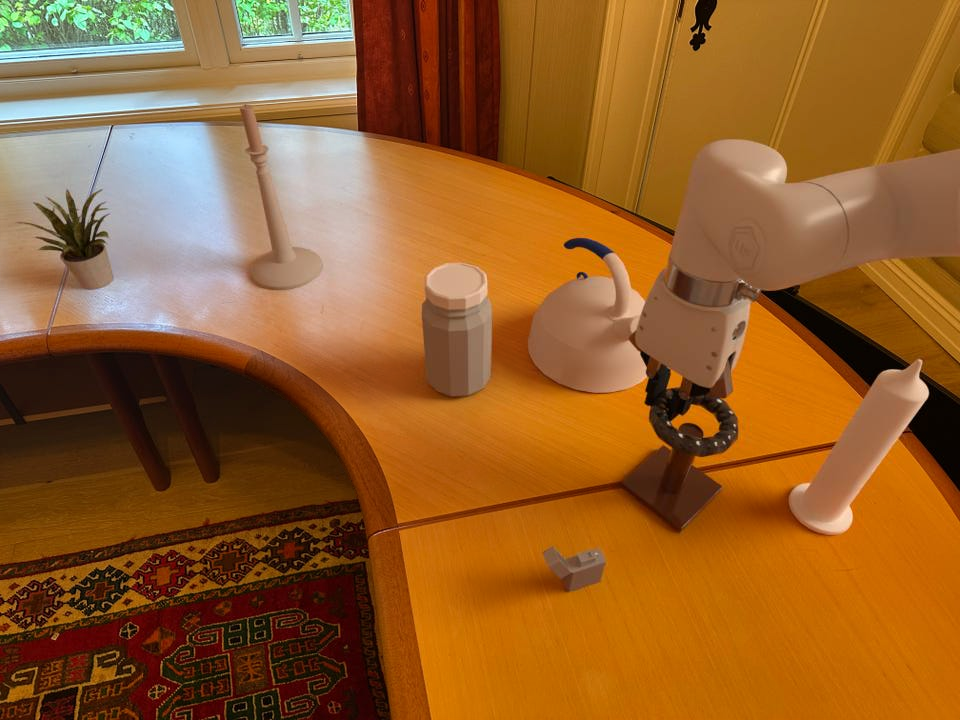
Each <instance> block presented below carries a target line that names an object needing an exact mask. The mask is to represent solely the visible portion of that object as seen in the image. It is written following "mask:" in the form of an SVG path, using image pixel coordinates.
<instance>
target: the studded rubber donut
mask: <svg viewBox="0 0 960 720" xmlns="http://www.w3.org/2000/svg"><path fill="white" fill-rule="evenodd" d="M679 388H680V386H677V387H669V388H667V389H666V390H664V391H663V392H662V393H661V394H659V395H658V396H657V397H656V398H654V399H653V400H652V402H651V406H649V407H650V408H649V413H648V421H649V424H650V425H651V428H652V429H653V431H654V433H655V435H656V436H657V438H658V439H659V440H660V441H661V442H663V443H665V444H666V445H667V446H669V447H670V448H671V449H672V448H673V449H675V450H676V451H678V452H681V453H685V454H689V455H693V456H696V457H697V458H698V457H699V458H706V457H711V456H716V455H717V456H718V455H722V454H724V453H725V452H726V451H728V450H729V449H730V448H731V446H733V445H734V444H735V443H736V442H737V440H738V439H739V418H738V416H737V415H736V414H735V412H734V410H733V409H732V407H731V406H730V405H729V403H728V402H727V400H725V399H722V398H718V397H713V396H710V395H708V394H706V395H704V396H696V397H694V398H693V400H692V403H691V406H692V405H693V406H696V407H700V408H702V409H704V410H706V411H707V412H708V413H710V414H712V415H713V417H714V418H715V420H716V421H717V423H718V431H716V433H715V434H713V435H711V436H706V437H704V436H703V438H698V437H694V436H690V435H685V434H684V433H682V432H681V431H679V430H678V428H676V427H675V426H674V425H673V424H672V421H670V420H669V419H668V408H669V405H670V402H671V399H672V396H673V394H674V393H676V392H677V391H678V390H679Z"/></svg>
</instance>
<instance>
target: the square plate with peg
mask: <svg viewBox="0 0 960 720" xmlns="http://www.w3.org/2000/svg"><path fill="white" fill-rule="evenodd" d="M677 429H678V430H679V431H681V432H682V433H684V434H685V435H690V436H694V437H698V438H704V436H705V433H704V430H703V429H702V427H700V426H699V425H698V424H695V423H693V422H684V423H682V424H680V425H679V426H678V428H677ZM696 457H697V456H693V455H689V454H685V453H681V452H678V451H676V450H675V449H673V448H672V447H671V449H670V448H669V447H667V446H666V445H665V444H663V445H661V446H660V447H659V448H658V449H657V450H656V451H654V452H653V453H652V454H651V455H650V456H648V457H647V458H646V459H645V460H644V461H643V462H641V464H640V465H638V466H637V467H636V468H635V469H634V470H633V471H631V472H630V473H629V474H628V475H627V476H626V477H624V479H622V480H621V482H620V484H619V487H620V488H621V489H622V490H623V491H625V492H627V494H629V495H630V496H631V497H633V498H634V499H635V500H637V502H639V503H641V504H642V505H643V506H644V507H646V509H648V510H650V511H651V512H652V513H653V514H655V515H656V516H657V517H658V518H659V519H661V520H662V521H664V522H665V523H666V524H667V525H668V526H670V527H671V528H672V529H674V530H675V531H677V532H678V533H679V534H680V533H681V532H683V530H684V529H686V528H687V526H688V525H689V524H691V522H692V521H694V519H695V518H697V517H698V515H699V514H700V513H702V511H703V510H704V509H705V508H706V507H707V506H709V504H710V503H711V502H712V501H713V500H714V499H715V498H716V497H717V496H718V495H719V494H720V493H721V492H722V491H723V488H724V486H723V485H722V484H720V483H719V482H717V481H716V480H714V479H713V478H712V477H710V476H709V475H707V474H706V473H705V472H703V471H701V469H699V468H697V467H696V466H694V465H693V464H694V462H695V459H696Z"/></svg>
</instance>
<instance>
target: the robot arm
mask: <svg viewBox="0 0 960 720" xmlns="http://www.w3.org/2000/svg"><path fill="white" fill-rule="evenodd" d="M787 175H788V166H787V163H786V160H785V159H784V157H783V156H782V154H780V152H778V151H777V150H776V149H774V148H773V147H770V146H769V145H766V144H763V143H760V142H757V141H753V140H749V139H748V140H747V139H740V138H739V139H738V138H728V139H719V140H715V141H712V142H710V143H707V144H706V145H704V146H703V147H702V148H701V149H700V150H699V151H698V152H697V154H696V155H695V157H694V160H693V162H692V166H691V168H690V173H689V176H688V180H687V184H686V187H685V190H684V191H685V192H684V196H683V200H682V203H681V206H680V207H681V208H680V212H679V216H678V220H677V222H676V226H675V230H674V235H673V239H672V243H671V246H670V249H669V255H668V257H667V263H666V266H665V268H663V269H662V270H661V271H660V272H659V273H658V275H657V277H656V278H655V281H654V282H653V284H652V286H651V288H650V291H649V293H648V295H647V297H646V299H645V300H644V301H645V304H644V307H643V309H642V312H641V315H640V318H639V322H638V325H637V329H636V330H635V331H634V332H633V333H632V334H631V335H630V336H629V341H630V342H631V343H632V345H633V346H634V347H635V348H636V349H637V350H638V351H640V355H641V357H642V359H643V361H644V363H645V365H646V367H647V368H646V375H647V377H646V378H648V379H647V382H646V387H645V390H644V391H645V393H646V395H645V399H644V402H643V403H644V405H645V406H647V407H650V406H651V402H652V400H653V399H654V398H656V397H657V396H658V395H659V394H661V393H662V392H663V391H664V390H666V389H668V385H669V382H670V379H671V376H672V372H671V371H673V372H675V373H677V374H678V375H680V376H681V377H682V378H681V383H680V386H679V387H680V388H679V390H678V391H677V392H676V393H674V394H673V396H672V399H671V402H670V405H669V408H668V419H669V420H670V422H672V421H674V420H675V419H676V418H677V417H678V416H682V417H683V416H685V415H686V414H687V413H688V411H689V410H690V408H691V407H692V404H691V403H692V400H693V398H694V397H696V396H704V395H706V394H708V395H710V396H713V397H718V398H721V399H723V400H725V399H727V398H728V397H729V396H730V395H731V394H732V393H733V392H734V386H733V379H732V372H733V370H734V369H735V367H736V365H737V363H738V362H739V361H738V360H739V358H740V355H741V352H742V348H743V345H744V341H745V339H746V333H747V329H748V325H749V319H750V311H751V302H752V303H755V302H756V301H757V300H758V298H759V297H760V295H761V293H762V291H767V292H769V291H770V292H771V291H780V290H784V289H785V290H786V289H788V288H791V287H795V286H798V285H801V284H804V283H807V282H811V281H814V280H817V279H820V278H824V277H826V276H830V275H832V274H836V273H839V272H841V271H845V270H848V269H852V268H855V267H858V266H862V265H866V264H869V263H873V262H880V261H886V260H898V259H917V258H936V257H939V258H940V257H941V258H942V257H943V258H944V257H945V258H947V257H960V148H956V149H951V150H947V151H942V152H936V153H932V154H926V155H922V156H917V157H911V158H906V159H901V160H896V161H892V162H891V161H890V162H885V163H881V164H875V165H870V166H865V167H860V168H855V169H851V170H845V171H842V172H837V173H832V174H828V175H824V176H819V177H815V178H811V179H808V180H804V181H803V180H802V181H799V182H786V179H787Z"/></svg>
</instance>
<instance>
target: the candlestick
mask: <svg viewBox="0 0 960 720" xmlns="http://www.w3.org/2000/svg"><path fill="white" fill-rule="evenodd" d="M239 112H240V116H241V119H242V123H243V127H244V130H245V135H246V138H247V142H248V146H249V147H247V148H245V150H244V152H245V153H246V154H248V155H249V156H250V161H251V163H253V164H254V166H255V167H256V171H255V175H256V177H257V183H258V187H259V192H260V197H261V201H262V202H261V203H262V207H263V211H264V212H263V213H264V216H265V221H266V225H267V230H268V231H267V232H268V236H269V240H270V246H271V250H270V251H268V252H266V253H264V254H263V255H261V256H259V258H258V259H257V260H255V262H254V263H253V264H252V265H251V268H250V275H251V279H252V281H253V282H254V283H255V284H256V285H257V286H259V287H262V288H264V289H267V290H274V291H285V290H291V289H297V288H299V287H302V286H306V285H307V284H310V283H311V282H313V281H314V280H315V279H316V278H317V277H319V276H320V274H321V272H322V270H323V269H324V268H323V266H324V264H323V259H322V257H321V256H320V255H319V254H318V253H316V252H315V251H313V250H311V249H308V248H305V247H300V246H293V245H292V243H291V239H290V236H289V233H288V229H287V226H286V223H285V220H284V217H283V213H282V210H281V206H280V203H279V200H278V197H277V194H276V191H275V187H274V184H273V180H272V177H271V174H270V169H268V167H267V161H268V159H269V157H268V155H267V152H268V151H269V150H270V148H269V146H267V145H265V144H263V142H262V141H263V140H262V138H261V133H260V130H259V125H258V122H257V116H256V112H255V110H254V106H253V105H252V104H246V103H244V105H240V106H239Z"/></svg>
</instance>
